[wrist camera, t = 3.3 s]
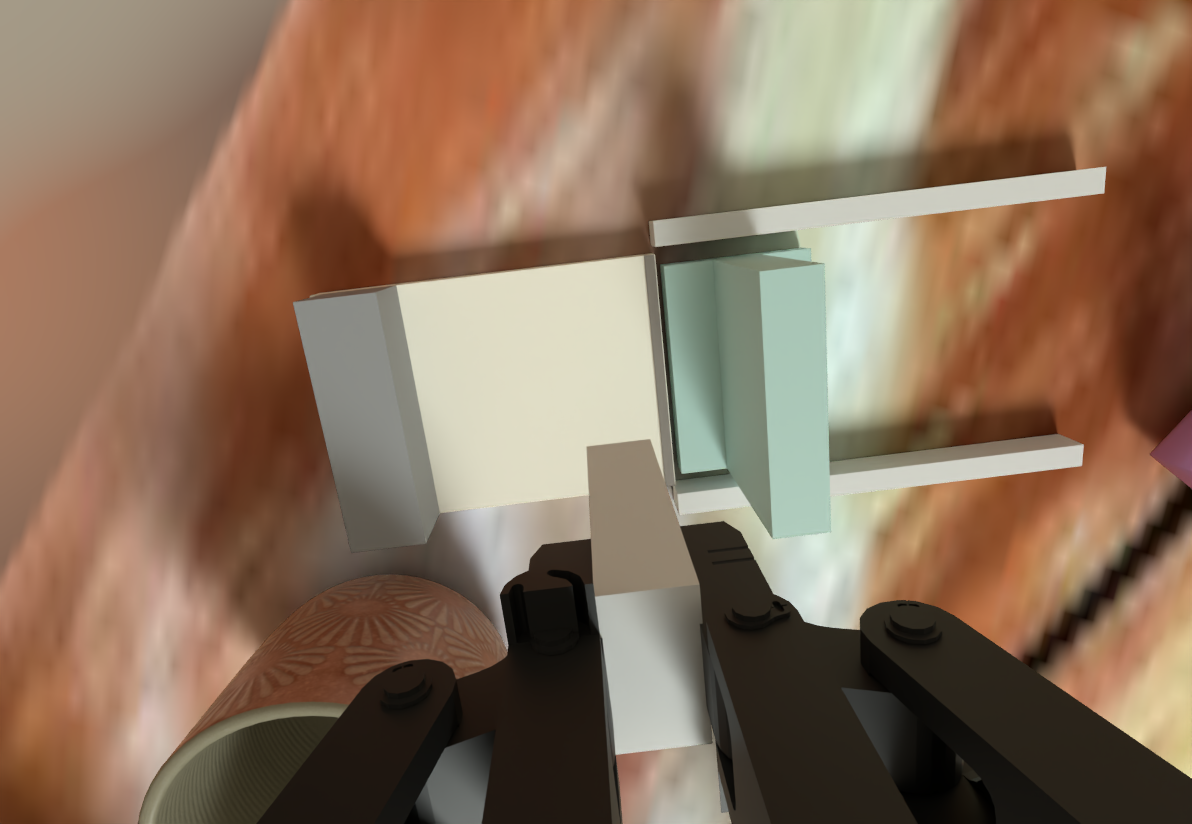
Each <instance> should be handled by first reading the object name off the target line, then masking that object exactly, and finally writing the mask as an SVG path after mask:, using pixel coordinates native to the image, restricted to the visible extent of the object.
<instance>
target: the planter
mask: <svg viewBox="0 0 1192 824" xmlns="http://www.w3.org/2000/svg"><path fill="white" fill-rule="evenodd" d="M506 656H507V649H506V647H505V645H504V643H503V640H502V639H501V637H500V635H499V633H498V632H497V630H496V629H495V627H494V626H493V625H492V623H491V622H490V621H489V619H488V618H487V617H486V616H485V615H484V614H483V613H482V611H481V610H480V609H478V608H477V607H476V606H475V605H474V604H473V603H472V602H470V601H469V600H468V599H466V598H465V597H463V596H462V595H460V594H459V593H457V592H455V591H454V590H452V589H450V588H448V587H445V586H443V585H441V584H438V583H436V582H433V581H430V580H426V579H422V578H418V577H413V576H407V575H393V574H388V575H374V576H366V577H362V578H358V579H354V580H350V581H347V582H344V583H341V584H338V585H336V586H334V587H332V588H330V589H327V590H326V591H324V592H322V593H321V594H319V595H317V596H316V597H314V598H312V599H311V600H309V601H308V602H307V603H305V604H304V605H303V606H301V607H300V608H299V609H297V610H296V611H295V612H294V613H293V614H292V615H291V616H290V617H289V618H288V619H286V620H285V621H284V622H283V623H282V624H281V625H280V626H279V627H278V628H277V629H276V630H275V631H274V632H273V633H272V634H271V635H270V636H269V637H268V638H267V639H266V641H265V642H264V643H263V644H262V645H261V646H260V647H259V649H258V650H257V651H256V652H255V653H254V654H253V655H252V657H251V658H250V659H249V660H248V661H247V662H246V664H245V665H244V666H243V667H242V668H241V670H240V671H239V672H238V673H237V674H236V676H235V677H234V678H233V679H232V680H231V682H230V683H229V684H228V685H227V687H226V688H225V689H224V690H223V692H222V693H221V694H220V695H219V696H218V698H217V699H216V700H215V701H214V703H213V704H212V705H211V706H210V707H209V709H208V710H207V711H206V712H205V714H204V715H203V716H202V717H201V719H200V720H199V721H198V722H197V724H196V725H195V726H194V727H193V729H192V730H191V731H190V732H189V734H188V735H187V736H186V737H185V739H184V740H183V741H182V742H181V744H180V745H179V746H178V747H177V748H176V750H175V751H174V752H173V753H172V755H171V756H170V757H169V758H168V760H167V761H166V762H165V763H164V764H163V765H162V767H161V768H160V770H159V771H158V773H157V774H156V776H155V778H154V779H153V781H152V783H151V785H150V787H149V789H148V791H147V793H146V795H145V798H144V801H143V804H142V807H141V810H140V815H139V821H138V824H256V823H257V822H258V821H259V819H260V818H261V817H262V816H263V814H264V813H265V812H266V811H267V809H268V808H269V807H270V805H271V804H272V803H273V802H274V800H275V799H276V798H277V796H278V795H279V794H280V793H281V791H282V790H283V789H284V787H285V786H286V785H287V784H288V782H289V781H290V780H291V779H292V777H293V776H294V775H295V773H296V772H297V771H298V770H299V768H300V767H301V766H302V764H303V763H304V762H305V761H306V759H307V758H308V757H309V756H310V754H311V753H312V752H313V750H314V749H315V748H316V747H317V745H318V744H319V743H320V741H321V740H322V739H323V738H324V736H325V735H326V734H327V732H328V731H329V730H330V729H331V727H332V726H333V725H334V724H335V722H336V721H337V720H338V718H339V717H340V716H341V715H342V713H343V712H344V711H345V709H346V708H347V707H348V706H349V704H350V703H351V702H352V700H353V699H354V698H355V697H356V695H357V694H358V693H359V692H360V690H361V689H362V688H363V687H364V686H365V685H366V684H367V683H368V682H369V681H370V680H371V679H372V678H373V677H374V676H376V675H378V674H379V673H381V672H383V671H385V670H386V669H388V668H390V667H392V666H394V665H397V664H399V663H403V662H407V661H410V660H421V659H431V660H437V661H442V662H444V663H445V664H447V665H448V666H450V667H451V668H452V669H453V671H454V674H455V677H456V679H459V678H462V677H465V676H468V675H470V674H473V673H476V672H479V671H481V670H484V669H486V668H489V667H491V666H493V665H494V664H496V663H498V662H499V661H501V660H502V659H504V658H505V657H506Z"/></svg>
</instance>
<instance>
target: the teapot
mask: <svg viewBox="0 0 1192 824" xmlns="http://www.w3.org/2000/svg"><path fill="white" fill-rule="evenodd" d="M1150 455H1151V456H1152V457H1153V458H1155V459H1156V460H1157V461H1158V462H1159V463H1161V464H1162V465H1163V466H1164V467H1166V468H1167V469H1168V470H1169V471H1171V472H1172V473H1173V474H1174V475H1175V476H1177V477H1178V478H1179V479H1180V480H1182V481H1183V482H1184V483H1185V484H1187V485H1188V486H1189V487H1190V488H1191V489H1192V410H1191V411H1190V412H1189V413H1188V414H1187V415H1186V416H1185V417H1184V418H1183V419H1182V420H1181V421H1180V422H1179V423H1178V424H1177V426H1176V427H1175V428H1174V429H1173V430H1172V431H1171V432H1170V433H1169V434H1168V435H1167V436H1166V437H1165V438H1164V439H1163V440H1162V441H1161V443H1160V444H1159V445H1158V446H1157V447H1156V448H1155V449H1154V450H1153V451H1152V452H1151V453H1150Z"/></svg>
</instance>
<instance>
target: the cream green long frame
mask: <svg viewBox="0 0 1192 824" xmlns="http://www.w3.org/2000/svg"><path fill="white" fill-rule="evenodd" d="M1105 176H1106V167H1100V168H1091V169H1082V170H1073V171H1065V172H1056V173H1048V174H1040V175H1031V176H1023V177H1014V178H1006V179H998V180H989V181H981V182H973V183H964V184H956V185H948V186H939V187H931V188H922V189H914V190H906V191H897V192H889V193H881V194H872V195H864V196H856V197H847V198H839V199H831V200H822V201H814V202H805V203H797V204H789V205H780V206H772V207H764V208H755V209H747V210H739V211H730V212H722V213H714V214H705V215H697V216H688V217H680V218H672V219H663V220H655V221H649V231H650V242H651V246H653V247H660V246H668V245H677V244H685V243H693V242H702V241H710V240H718V239H727V238H735V237H743V236H752V235H760V234H768V233H777V232H785V231H793V230H802V229H810V228H818V227H827V226H835V225H843V224H852V223H860V222H869V221H877V220H885V219H894V218H902V217H910V216H919V215H927V214H935V213H944V212H952V211H960V210H969V209H977V208H985V207H994V206H1002V205H1010V204H1019V203H1027V202H1035V201H1044V200H1052V199H1060V198H1069V197H1077V196H1085V195H1094V194H1102V193H1104V189H1105ZM293 305H294V309H295V314H296V318H297V322H298V327H299V331H300V335H301V339H302V344H303V348H304V352H305V357H306V361H307V365H308V369H309V374H310V378H311V382H312V387H313V391H314V395H315V399H316V404H317V408H318V412H319V417H320V421H321V425H322V429H323V434H324V438H325V442H326V447H327V451H328V455H329V459H330V464H331V468H332V472H333V477H334V481H335V485H336V489H337V494H338V498H339V502H340V506H341V511H342V515H343V519H344V524H345V528H346V532H347V536H348V541H349V545H350V549H351V553H355V552H363V551H371V550H379V549H387V548H396V547H404V546H412V545H420V544H426V543H427V541H428V538H429V536H430V534H431V532H432V530H433V527H434V525H435V523H436V521H437V518H438V516H439V514H440V513H445V512H453V511H462V510H470V509H478V508H486V507H495V506H503V505H511V504H519V503H527V502H536V501H544V500H552V499H560V498H568V497H577V496H585V495H589V488H588V468H587V448H586V446H595V445H603V444H612V443H620V442H628V441H637V440H645V439H650V440H651V443H652V446H653V449H654V452H655V455H656V458H657V461H658V464H659V467H660V470H661V472H662V475H663V478H664V481H665V484H666V487H667V486H673V495H674V502H675V505H676V507H677V510H678V513H679V515H684V514H692V513H700V512H708V511H717V510H725V509H733V508H741V507H749V506H751V505H750V503H749V502H748V500H747V499H746V497H745V496H744V494H743V492H742V491H741V489H740V488H739V486H738V485H737V483H736V482H735V480H734V479H733V477H732V475H731V474H725V475H717V476H709V477H700V478H692V479H684V480H676V481H675V472H674V461H673V450H672V439H671V427H670V416H669V405H668V394H667V383H666V372H665V360H664V349H663V338H662V327H661V316H660V305H659V293H658V282H657V271H656V260H655V254H653V253H649V254H640V255H632V256H624V257H615V258H607V259H599V260H590V261H582V262H574V263H565V264H557V265H549V266H540V267H532V268H524V269H515V270H507V271H499V272H490V273H482V274H474V275H465V276H457V277H449V278H440V279H432V280H424V281H415V282H407V283H398V284H390V285H382V286H373V287H365V288H357V289H348V290H340V291H332V292H323V293H318V294H314V295H311V296H310V298H307V299H303V300H300V301H296V302H293ZM1083 446H1084V445H1083V444H1081V443H1079V442H1076V441H1074V440H1072V439H1069V438H1067V437H1065V436H1062V435H1060V434H1053V435H1045V436H1037V437H1029V438H1021V439H1012V440H1004V441H996V442H988V443H979V444H971V445H963V446H955V447H947V448H938V449H930V450H922V451H914V452H906V453H897V454H889V455H881V456H873V457H865V458H856V459H848V460H840V461H832V462H829V470H830V497H831V496H840V495H848V494H856V493H864V492H872V491H880V490H889V489H897V488H905V487H913V486H921V485H930V484H938V483H946V482H954V481H962V480H971V479H979V478H987V477H995V476H1003V475H1012V474H1020V473H1028V472H1036V471H1044V470H1052V469H1061V468H1069V467H1077V466H1082V459H1083Z"/></svg>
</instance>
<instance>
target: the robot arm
mask: <svg viewBox="0 0 1192 824" xmlns="http://www.w3.org/2000/svg"><path fill="white" fill-rule="evenodd" d="M586 448H587V468H588V488H589V508H590V529H591V539H587V540H578V541H570V542H561V543H553V544H544V545H542V546H541V547H540V548H539V549H538V550H537V552H536V553H535V554H534V555H533V556H532V557H531V559H530V564H529V571H527V572H525V573H522V574H520V575H518V576H516V577H514V578H513V579H512V580H511V581H509V582H508V583H507V584H506V585H505V586H504V588H503V590H502V591H501V593H500V599H501V605H502V610H503V616H504V622H505V628H506V633H507V639H508V645H509V646H508V652H507V656H506V657H505V658H504V659H502V660H501V661H499V662H498V663H496V664H494V665H493V666H491V667H489V668H486V669H484V670H481V671H479V672H476V673H473V674H470V675H468V676H465V677H462V678H459V679H456V677H455V674H454V671H453V669H452V668H451V667H450V666H448V665H447V664H445V663H444V662H442V661H437V660H431V659H421V660H410V661H407V662H403V663H399V664H397V665H394V666H392V667H390V668H388V669H386V670H385V671H383V672H381V673H379V674H378V675H376V676H374V677H373V678H372V679H371V680H370V681H369V682H368V683H367V684H366V685H365V686H364V687H363V688H362V689H361V690H360V692H359V693H358V694H357V695H356V697H355V698H354V699H353V700H352V702H351V703H350V704H349V706H348V707H347V708H346V709H345V711H344V712H343V713H342V715H341V716H340V717H339V718H338V720H337V721H336V722H335V724H334V725H333V726H332V727H331V729H330V730H329V731H328V732H327V734H326V735H325V736H324V738H323V739H322V740H321V741H320V743H319V744H318V745H317V747H316V748H315V749H314V750H313V752H312V753H311V754H310V756H309V757H308V758H307V759H306V761H305V762H304V763H303V764H302V766H301V767H300V768H299V770H298V771H297V772H296V773H295V775H294V776H293V777H292V779H291V780H290V781H289V782H288V784H287V785H286V786H285V787H284V789H283V790H282V791H281V793H280V794H279V795H278V796H277V798H276V799H275V800H274V802H273V803H272V804H271V805H270V807H269V808H268V809H267V811H266V812H265V813H264V814H263V816H262V817H261V818H260V819H259V821H258V822H257V823H256V824H623V823H622V811H621V799H620V786H619V777H618V770H617V762H616V755H617V754H626V753H634V752H643V751H652V750H660V749H669V748H677V747H686V746H694V745H703V744H711V743H712V730H711V725H712V728H713V732H714V736H715V739H716V750H717V763H718V775H719V788H720V800H721V813H723V812H729V815H730V819H731V823H732V824H1192V779H1191V778H1190V777H1189V776H1187V775H1186V774H1184V773H1183V772H1181V771H1180V770H1178V769H1177V768H1175V767H1174V766H1173V765H1171V764H1170V763H1168V762H1167V761H1165V760H1164V759H1162V758H1161V757H1159V756H1158V755H1156V754H1155V753H1154V752H1152V751H1151V750H1149V749H1148V748H1146V747H1145V746H1143V745H1142V744H1140V743H1139V742H1138V741H1136V740H1135V739H1133V738H1132V737H1130V736H1129V735H1127V734H1126V733H1124V732H1123V731H1122V730H1120V729H1119V728H1117V727H1116V726H1114V725H1113V724H1111V723H1110V722H1108V721H1107V720H1106V719H1104V718H1103V717H1101V716H1100V715H1098V714H1097V713H1095V712H1094V711H1092V710H1091V709H1089V708H1088V707H1087V706H1085V705H1084V704H1082V703H1081V702H1079V701H1078V700H1076V699H1075V698H1073V697H1072V696H1071V695H1069V694H1068V693H1066V692H1065V691H1063V690H1062V689H1060V688H1059V687H1057V686H1056V685H1055V684H1053V683H1052V682H1050V681H1049V680H1047V679H1046V678H1044V677H1043V676H1041V675H1040V674H1038V673H1037V672H1036V671H1034V670H1033V669H1031V668H1030V667H1028V666H1027V665H1025V664H1024V663H1022V662H1021V661H1020V660H1018V659H1017V658H1015V657H1014V656H1012V655H1011V654H1009V653H1008V652H1006V651H1005V650H1004V649H1002V648H1001V647H999V646H998V645H996V644H995V643H993V642H992V641H990V640H989V639H988V638H986V637H985V636H983V635H982V634H980V633H979V632H977V631H976V630H974V629H973V628H971V627H970V626H969V625H967V624H966V623H964V622H963V621H961V620H960V619H958V618H957V617H955V616H954V615H952V614H950V613H948V612H946V611H944V610H942V609H940V608H938V607H935V606H932V605H928V604H924V603H920V602H917V601H909V600H908V601H906V600H897V601H890V602H883V603H879V604H877V605H874V606H872V607H870V608H868V609H866V611H865V612H864V613H863V615H862V616H861V617H860V630H852V629H840V628H830V627H823V626H817V625H813V624H810V623H807V622H804V621H803V619H802V617H801V615H800V614H799V612H798V610H797V609H796V608H795V607H794V606H793V605H792V604H791V603H790V602H789V601H787V600H785V599H783V598H781V597H779V596H777V595H774V594H773V593H772V591H771V589H770V587H769V585H768V583H767V581H766V579H765V577H764V576H763V574H762V572H761V570H760V568H759V566H758V564H757V562H756V560H754V557H753V555H752V553H751V551H750V549H748V545H747V543H746V541H745V540H744V538H743V536H742V534H741V532H740V531H738V530H737V529H735V528H733V527H732V526H730V525H729V524H727V523H725V522H724V521H722V522H714V523H705V524H697V525H688V526H680V525H679V522H678V519H677V517H676V514H675V511H674V508H673V505H672V502H671V499H670V496H669V493H668V490H667V487H666V484H665V481H664V478H663V475H662V472H661V470H660V467H659V464H658V461H657V458H656V455H655V452H654V449H653V446H652V443H651V440H650V439H645V440H637V441H628V442H620V443H612V444H603V445H595V446H586Z"/></svg>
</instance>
